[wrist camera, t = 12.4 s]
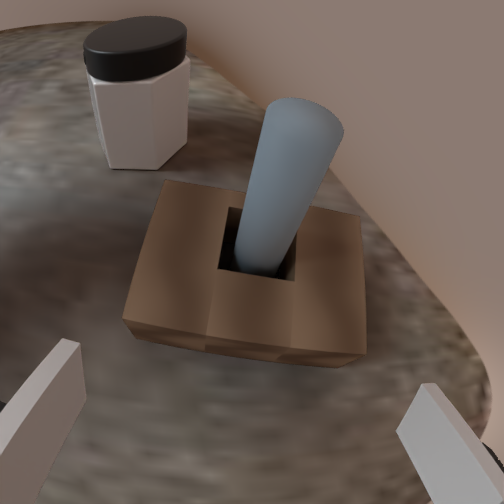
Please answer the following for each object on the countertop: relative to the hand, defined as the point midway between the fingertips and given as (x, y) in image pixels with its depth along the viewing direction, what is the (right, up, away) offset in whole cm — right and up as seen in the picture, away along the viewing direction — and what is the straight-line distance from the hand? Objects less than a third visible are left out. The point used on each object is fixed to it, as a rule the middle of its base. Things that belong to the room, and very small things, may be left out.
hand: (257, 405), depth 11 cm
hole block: (-1, +3, +13) cm, 13 cm away
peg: (0, +4, +13) cm, 14 cm away
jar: (-11, +16, +19) cm, 27 cm away
